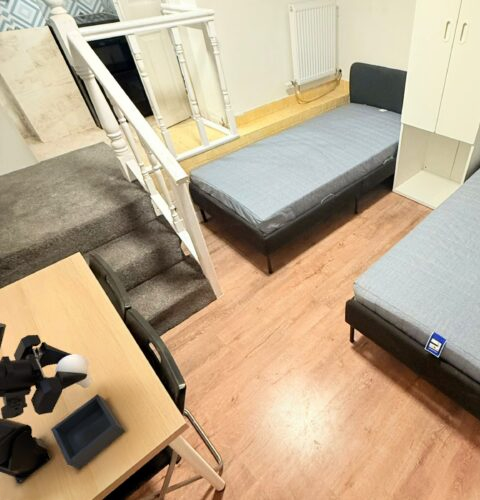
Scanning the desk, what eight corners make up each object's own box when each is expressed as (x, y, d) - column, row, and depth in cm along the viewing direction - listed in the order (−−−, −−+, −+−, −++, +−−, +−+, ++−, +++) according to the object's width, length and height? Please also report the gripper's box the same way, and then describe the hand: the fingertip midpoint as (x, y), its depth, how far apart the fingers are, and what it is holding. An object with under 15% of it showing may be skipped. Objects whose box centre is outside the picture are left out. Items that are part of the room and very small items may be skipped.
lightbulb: (95, 396, 79) (71, 374, 72) (69, 396, 79) (43, 374, 72) (107, 372, 84) (85, 348, 76) (82, 372, 84) (59, 349, 76)
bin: (79, 470, 74) (67, 464, 71) (62, 435, 79) (50, 429, 76) (125, 431, 79) (116, 424, 76) (106, 401, 85) (97, 393, 81)
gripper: (-32, 379, 70) (55, 369, 84) (-14, 447, 61) (81, 424, 74) (-12, 334, 69) (73, 332, 82) (9, 397, 59) (102, 383, 73)
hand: (81, 367), depth 78 cm, fingers closed on lightbulb, 6 cm apart
